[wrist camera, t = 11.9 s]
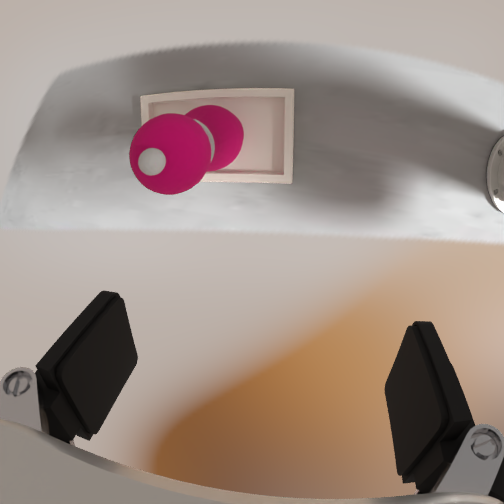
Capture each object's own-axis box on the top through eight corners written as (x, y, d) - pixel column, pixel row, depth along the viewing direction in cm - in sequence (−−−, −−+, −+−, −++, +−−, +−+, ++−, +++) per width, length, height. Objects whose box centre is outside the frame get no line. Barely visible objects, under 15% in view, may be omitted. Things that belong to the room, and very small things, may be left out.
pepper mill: (177, 131, 37) (80, 160, 19) (222, 92, 34) (151, 81, 16) (213, 175, 39) (145, 240, 21) (260, 139, 36) (228, 173, 18)
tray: (293, 89, 34) (294, 88, 32) (292, 179, 39) (292, 183, 36) (148, 96, 36) (140, 95, 34) (153, 178, 41) (145, 182, 38)
